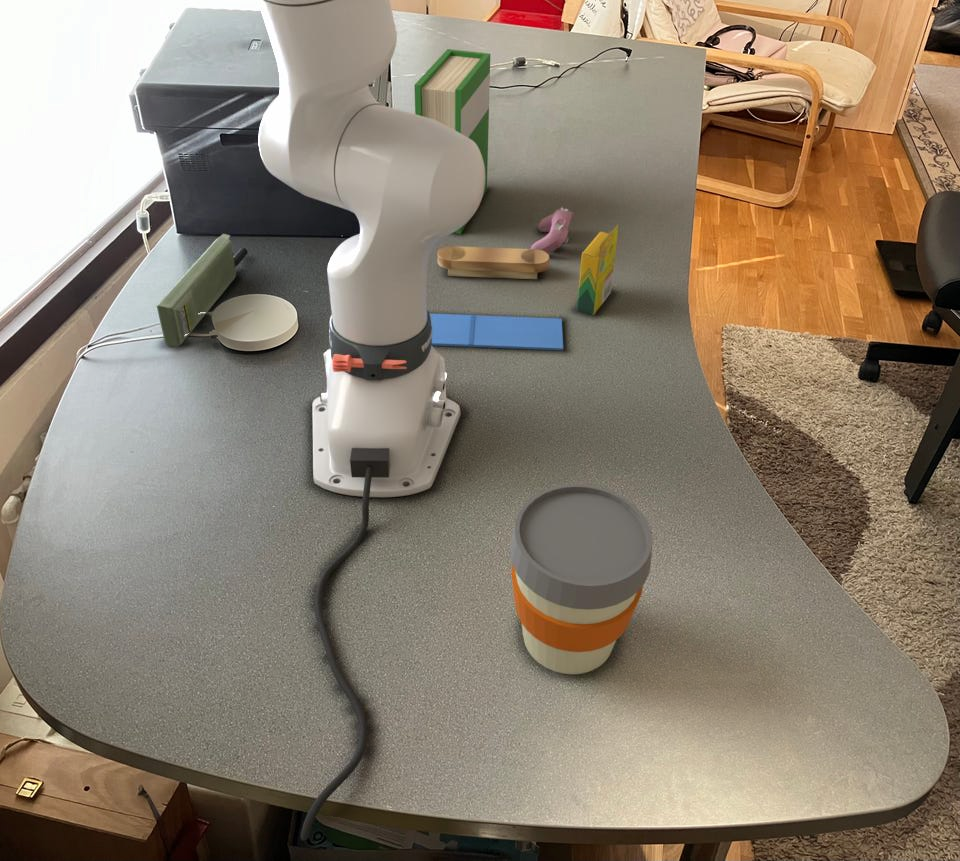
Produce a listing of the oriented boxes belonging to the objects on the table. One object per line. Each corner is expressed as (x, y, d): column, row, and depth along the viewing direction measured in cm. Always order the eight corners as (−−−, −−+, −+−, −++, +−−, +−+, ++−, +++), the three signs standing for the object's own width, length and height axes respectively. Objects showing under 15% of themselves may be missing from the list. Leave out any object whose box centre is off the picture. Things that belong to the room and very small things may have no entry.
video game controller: (551, 268, 142) (573, 235, 137) (527, 254, 141) (549, 221, 136) (559, 239, 149) (581, 207, 144) (536, 225, 148) (557, 193, 144)
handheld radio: (160, 344, 121) (234, 256, 139) (182, 348, 121) (254, 259, 139) (151, 304, 117) (229, 218, 135) (174, 308, 116) (249, 221, 135)
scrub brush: (547, 266, 139) (549, 249, 137) (548, 281, 136) (549, 264, 134) (438, 262, 139) (438, 245, 137) (436, 276, 136) (436, 259, 134)
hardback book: (460, 234, 147) (461, 90, 131) (418, 227, 148) (414, 84, 132) (486, 189, 160) (490, 53, 144) (448, 184, 161) (447, 49, 145)
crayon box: (593, 287, 134) (601, 218, 127) (611, 292, 133) (620, 223, 126) (575, 310, 129) (582, 240, 122) (593, 316, 128) (602, 245, 121)
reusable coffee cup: (479, 621, 86) (482, 517, 77) (576, 566, 92) (590, 463, 82) (558, 715, 79) (573, 613, 69) (659, 649, 84) (686, 546, 75)
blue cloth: (563, 350, 122) (563, 347, 121) (420, 345, 122) (420, 342, 122) (561, 320, 127) (561, 318, 127) (425, 315, 128) (425, 312, 127)
